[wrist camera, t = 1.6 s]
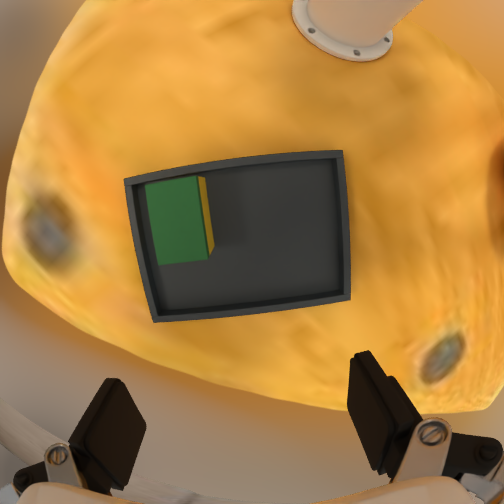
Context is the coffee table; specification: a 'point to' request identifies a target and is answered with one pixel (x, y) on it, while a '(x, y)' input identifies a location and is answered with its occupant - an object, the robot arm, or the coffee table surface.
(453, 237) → the coffee table surface
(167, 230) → the sponge
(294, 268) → the tray
